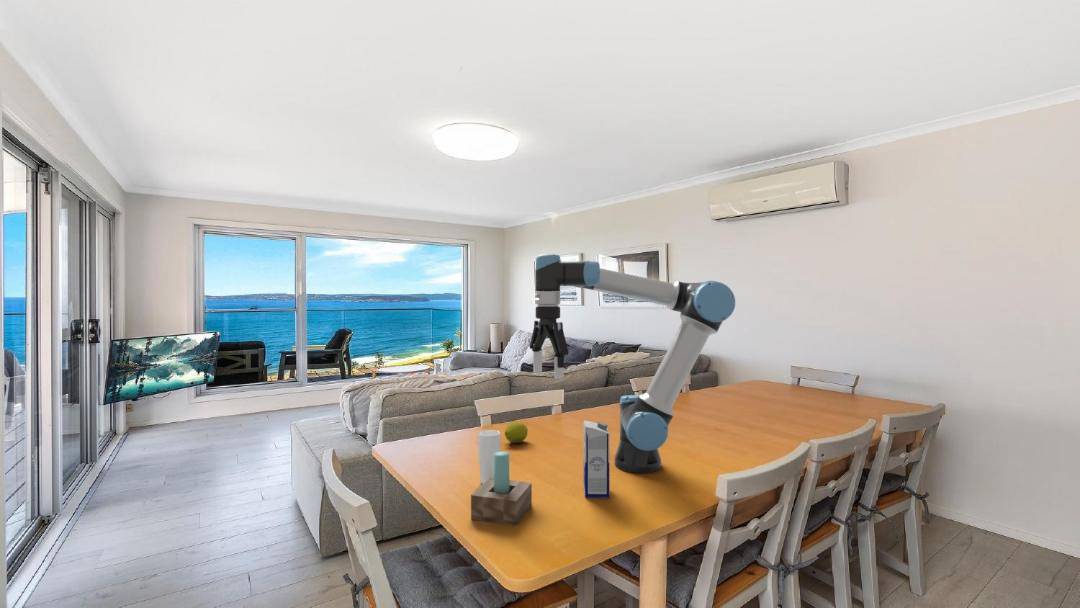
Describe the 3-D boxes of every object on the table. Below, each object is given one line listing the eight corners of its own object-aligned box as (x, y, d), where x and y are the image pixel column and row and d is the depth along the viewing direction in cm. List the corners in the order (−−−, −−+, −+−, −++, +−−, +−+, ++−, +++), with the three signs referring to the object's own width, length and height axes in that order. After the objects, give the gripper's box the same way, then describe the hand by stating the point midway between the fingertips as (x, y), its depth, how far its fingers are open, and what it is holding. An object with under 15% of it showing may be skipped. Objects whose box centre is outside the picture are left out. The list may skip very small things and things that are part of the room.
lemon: (520, 437, 188) (520, 417, 188) (533, 442, 182) (533, 421, 182) (498, 443, 181) (498, 422, 181) (511, 448, 175) (511, 426, 175)
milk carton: (583, 487, 138) (583, 419, 138) (606, 487, 138) (606, 419, 138) (585, 497, 131) (585, 425, 131) (609, 498, 131) (609, 426, 131)
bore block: (531, 505, 127) (531, 482, 127) (516, 525, 115) (516, 501, 115) (490, 499, 130) (490, 477, 130) (471, 518, 119) (471, 495, 119)
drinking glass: (491, 488, 138) (491, 437, 138) (473, 483, 141) (473, 433, 141) (505, 481, 144) (505, 431, 143) (487, 476, 147) (487, 428, 147)
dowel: (511, 505, 124) (511, 452, 124) (506, 512, 120) (506, 457, 120) (497, 503, 125) (497, 451, 125) (491, 510, 122) (491, 455, 121)
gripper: (519, 305, 154) (519, 370, 154) (557, 306, 132) (557, 382, 132) (539, 305, 157) (539, 368, 158) (580, 306, 135) (580, 380, 136)
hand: (547, 375), depth 145 cm, fingers open, 13 cm apart
